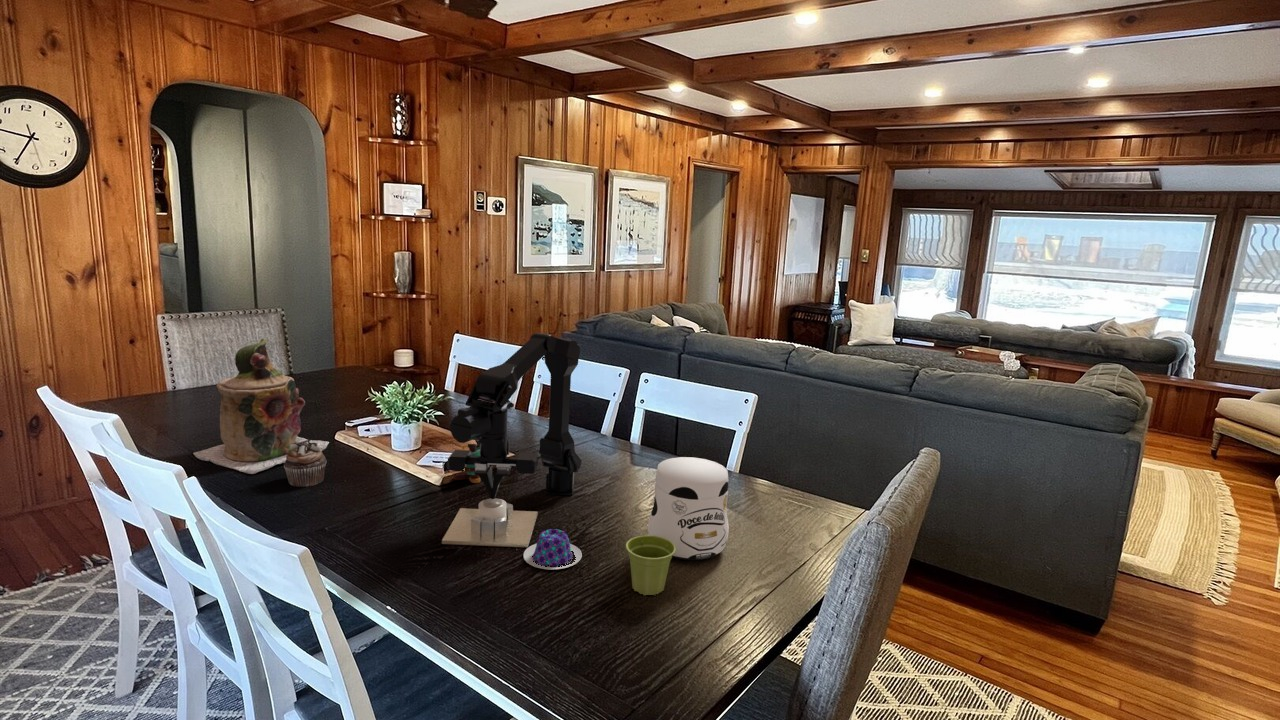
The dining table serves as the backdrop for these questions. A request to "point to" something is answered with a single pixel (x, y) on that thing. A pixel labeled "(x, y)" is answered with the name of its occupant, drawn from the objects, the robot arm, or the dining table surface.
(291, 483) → the cupcake
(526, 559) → the pudding
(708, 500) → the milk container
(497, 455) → the robot arm
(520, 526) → the wooden board
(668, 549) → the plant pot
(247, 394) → the cookie jar
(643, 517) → the dining table surface
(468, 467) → the binoculars
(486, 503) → the cap
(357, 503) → the dining table surface
